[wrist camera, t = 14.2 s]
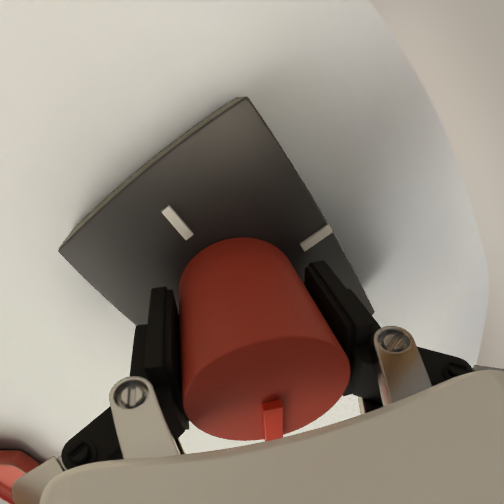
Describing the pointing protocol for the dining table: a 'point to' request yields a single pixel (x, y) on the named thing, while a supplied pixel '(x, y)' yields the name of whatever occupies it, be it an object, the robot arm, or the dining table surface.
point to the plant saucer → (13, 470)
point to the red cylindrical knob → (254, 344)
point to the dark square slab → (202, 212)
